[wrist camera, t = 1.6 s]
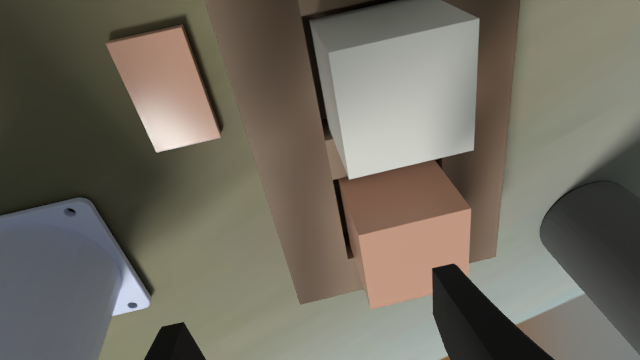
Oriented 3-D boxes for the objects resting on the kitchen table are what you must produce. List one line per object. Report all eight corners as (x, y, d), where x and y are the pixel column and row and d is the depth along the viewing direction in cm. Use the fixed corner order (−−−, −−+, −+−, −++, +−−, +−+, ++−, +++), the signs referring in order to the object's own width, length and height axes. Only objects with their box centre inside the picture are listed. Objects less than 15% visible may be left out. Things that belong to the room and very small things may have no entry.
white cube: (328, 127, 17) (348, 179, 14) (309, 20, 15) (328, 52, 12) (430, 104, 18) (473, 150, 14) (427, -7, 15) (479, 18, 12)
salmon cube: (350, 246, 21) (370, 309, 18) (338, 177, 19) (358, 235, 16) (433, 227, 22) (467, 285, 18) (431, 155, 19) (471, 208, 16)
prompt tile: (158, 147, 19) (156, 152, 19) (109, 40, 17) (105, 44, 16) (221, 132, 19) (220, 137, 19) (183, 24, 17) (181, 27, 16)
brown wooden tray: (294, 264, 25) (300, 304, 22) (111, -343, 11) (75, -412, 9) (470, 222, 25) (495, 256, 23) (499, -419, 12) (568, -506, 9)
